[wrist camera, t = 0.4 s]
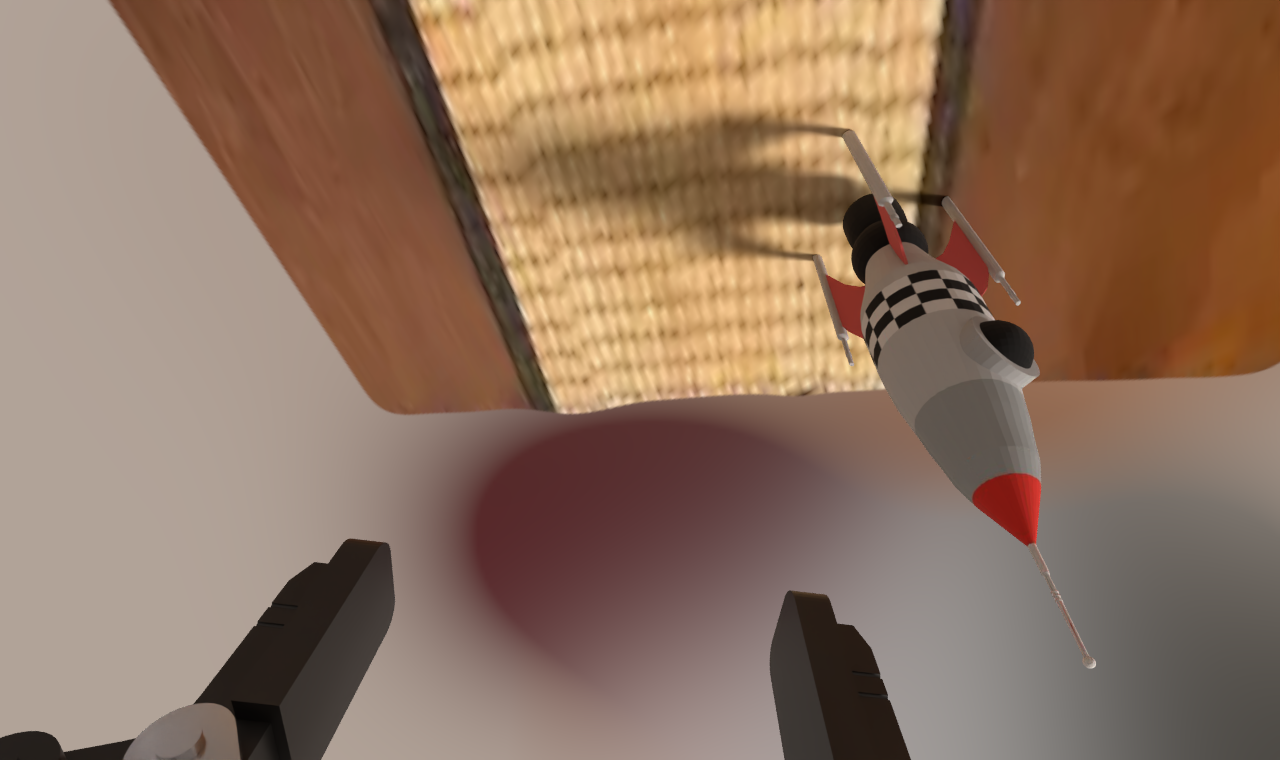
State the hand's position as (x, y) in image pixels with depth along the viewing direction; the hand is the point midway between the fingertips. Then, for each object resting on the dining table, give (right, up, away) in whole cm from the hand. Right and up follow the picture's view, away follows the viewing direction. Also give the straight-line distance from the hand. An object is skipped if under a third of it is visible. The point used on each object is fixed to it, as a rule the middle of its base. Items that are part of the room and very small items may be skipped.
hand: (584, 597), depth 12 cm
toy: (+16, +16, +29) cm, 36 cm away
